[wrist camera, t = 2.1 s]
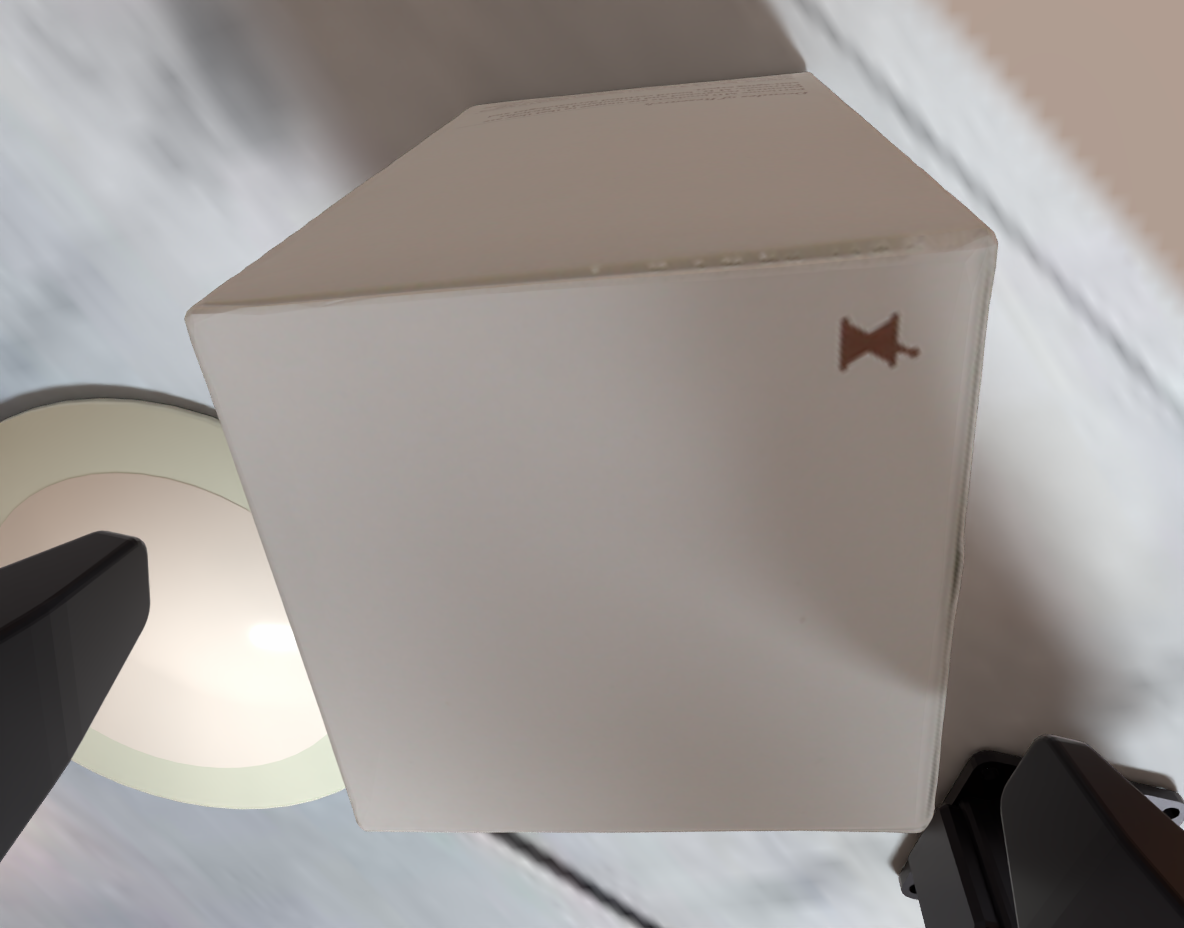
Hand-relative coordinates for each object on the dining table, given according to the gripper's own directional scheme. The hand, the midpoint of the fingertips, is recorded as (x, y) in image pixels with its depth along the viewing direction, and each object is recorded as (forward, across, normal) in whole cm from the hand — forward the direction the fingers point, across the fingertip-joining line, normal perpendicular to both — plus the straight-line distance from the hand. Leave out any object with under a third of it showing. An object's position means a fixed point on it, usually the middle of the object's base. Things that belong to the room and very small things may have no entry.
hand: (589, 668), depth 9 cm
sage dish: (+13, +11, +14) cm, 22 cm away
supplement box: (+13, 0, 0) cm, 13 cm away
